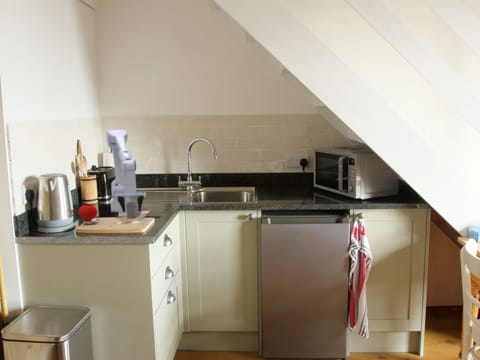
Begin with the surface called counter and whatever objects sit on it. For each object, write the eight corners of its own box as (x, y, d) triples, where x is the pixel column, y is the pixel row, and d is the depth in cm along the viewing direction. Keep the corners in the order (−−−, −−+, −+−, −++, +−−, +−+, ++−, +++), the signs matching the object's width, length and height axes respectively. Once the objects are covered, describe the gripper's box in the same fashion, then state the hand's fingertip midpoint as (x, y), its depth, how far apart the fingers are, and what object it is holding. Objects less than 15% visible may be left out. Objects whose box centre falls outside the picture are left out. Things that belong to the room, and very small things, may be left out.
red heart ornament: (76, 227, 206) (74, 206, 205) (86, 224, 213) (84, 203, 211) (92, 228, 203) (90, 207, 201) (102, 225, 209) (100, 204, 208)
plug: (127, 218, 215) (126, 204, 214) (129, 216, 219) (128, 202, 218) (135, 218, 215) (134, 203, 214) (137, 216, 219) (136, 202, 218)
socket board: (112, 227, 205) (112, 223, 204) (127, 214, 230) (126, 211, 230) (138, 226, 205) (138, 222, 204) (150, 213, 230) (149, 210, 230)
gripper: (112, 186, 211) (114, 213, 213) (142, 185, 211) (144, 212, 213) (116, 183, 218) (118, 210, 220) (146, 182, 218) (147, 209, 220)
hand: (131, 211), depth 217 cm, fingers open, 7 cm apart
